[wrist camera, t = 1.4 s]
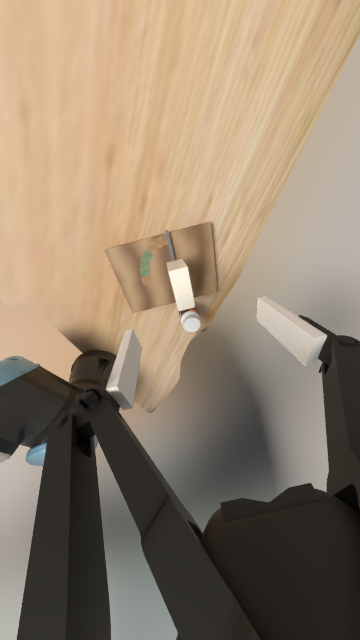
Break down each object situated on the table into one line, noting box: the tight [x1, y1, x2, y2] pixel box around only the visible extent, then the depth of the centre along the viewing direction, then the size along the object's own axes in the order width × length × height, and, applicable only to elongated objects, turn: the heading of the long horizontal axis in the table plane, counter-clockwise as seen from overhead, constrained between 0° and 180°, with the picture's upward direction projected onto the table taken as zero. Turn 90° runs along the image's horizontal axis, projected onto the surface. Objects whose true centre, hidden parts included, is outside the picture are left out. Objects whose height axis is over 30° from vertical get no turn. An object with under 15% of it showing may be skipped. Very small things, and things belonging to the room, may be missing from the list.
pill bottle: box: [179, 307, 200, 332], centre depth 38 cm, size 5×5×8 cm
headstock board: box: [104, 222, 217, 313], centre depth 35 cm, size 22×15×2 cm
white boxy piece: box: [165, 230, 195, 311], centre depth 28 cm, size 3×12×11 cm, turn 13°
